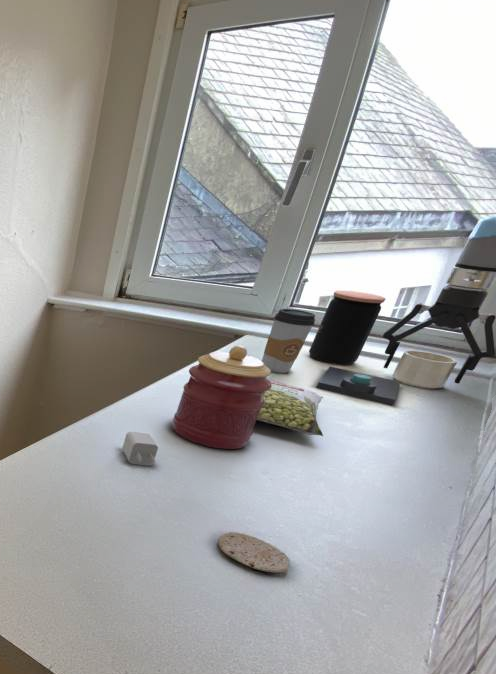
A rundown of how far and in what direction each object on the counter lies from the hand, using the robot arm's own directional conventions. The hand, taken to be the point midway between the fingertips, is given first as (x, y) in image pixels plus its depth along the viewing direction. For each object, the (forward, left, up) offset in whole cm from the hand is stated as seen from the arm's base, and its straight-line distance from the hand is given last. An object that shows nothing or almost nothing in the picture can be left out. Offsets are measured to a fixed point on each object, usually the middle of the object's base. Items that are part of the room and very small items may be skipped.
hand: (420, 374), depth 137 cm
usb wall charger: (+32, +99, -2) cm, 104 cm away
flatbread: (+12, +114, -2) cm, 115 cm away
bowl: (0, 0, -2) cm, 2 cm away
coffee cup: (+27, +18, -2) cm, 32 cm away
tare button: (+10, +23, 0) cm, 26 cm away
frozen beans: (+23, +56, -2) cm, 61 cm away
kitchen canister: (+27, +77, -2) cm, 82 cm away
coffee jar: (+18, -6, -2) cm, 19 cm away
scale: (+10, +17, -2) cm, 20 cm away
